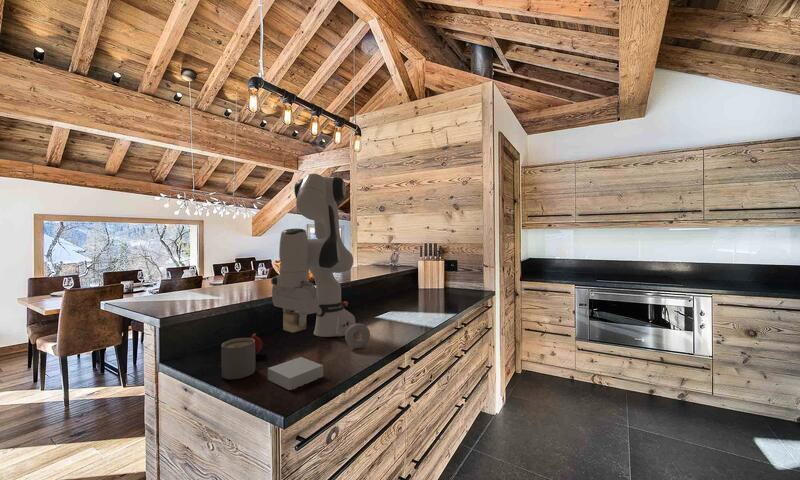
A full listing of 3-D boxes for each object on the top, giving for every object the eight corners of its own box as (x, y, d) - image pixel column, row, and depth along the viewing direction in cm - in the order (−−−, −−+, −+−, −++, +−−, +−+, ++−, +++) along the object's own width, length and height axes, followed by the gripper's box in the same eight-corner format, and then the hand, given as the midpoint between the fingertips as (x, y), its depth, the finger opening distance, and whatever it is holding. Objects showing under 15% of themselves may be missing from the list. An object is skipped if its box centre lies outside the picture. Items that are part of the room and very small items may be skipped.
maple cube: (297, 326, 106) (296, 310, 106) (306, 328, 103) (306, 313, 103) (283, 329, 102) (283, 313, 102) (292, 332, 99) (292, 316, 99)
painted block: (300, 368, 111) (300, 356, 111) (323, 377, 103) (323, 365, 103) (267, 380, 102) (267, 368, 101) (289, 392, 94) (289, 378, 94)
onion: (256, 358, 119) (255, 336, 119) (242, 357, 120) (241, 336, 120) (265, 353, 125) (265, 332, 125) (252, 352, 126) (252, 331, 126)
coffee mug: (252, 377, 103) (252, 345, 103) (217, 381, 101) (217, 348, 101) (259, 361, 116) (259, 333, 116) (228, 364, 114) (228, 336, 114)
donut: (345, 350, 126) (345, 325, 126) (344, 347, 130) (344, 323, 130) (370, 348, 129) (370, 323, 129) (369, 345, 132) (369, 321, 132)
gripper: (323, 281, 98) (324, 327, 98) (285, 276, 111) (285, 317, 111) (305, 283, 93) (306, 331, 93) (268, 278, 106) (268, 321, 106)
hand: (295, 323), depth 102 cm, fingers closed on maple cube, 5 cm apart
